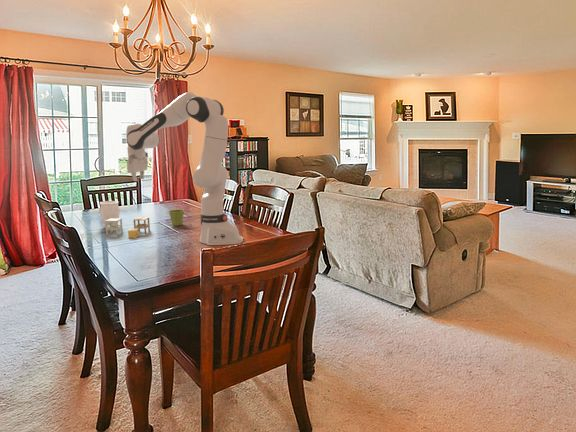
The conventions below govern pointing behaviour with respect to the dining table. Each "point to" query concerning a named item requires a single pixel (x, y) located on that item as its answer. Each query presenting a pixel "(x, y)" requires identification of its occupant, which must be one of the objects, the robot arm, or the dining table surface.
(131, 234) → the letter block
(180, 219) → the plant pot
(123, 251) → the dining table surface
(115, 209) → the jar
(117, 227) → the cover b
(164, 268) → the dining table surface
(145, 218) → the tan square stool
